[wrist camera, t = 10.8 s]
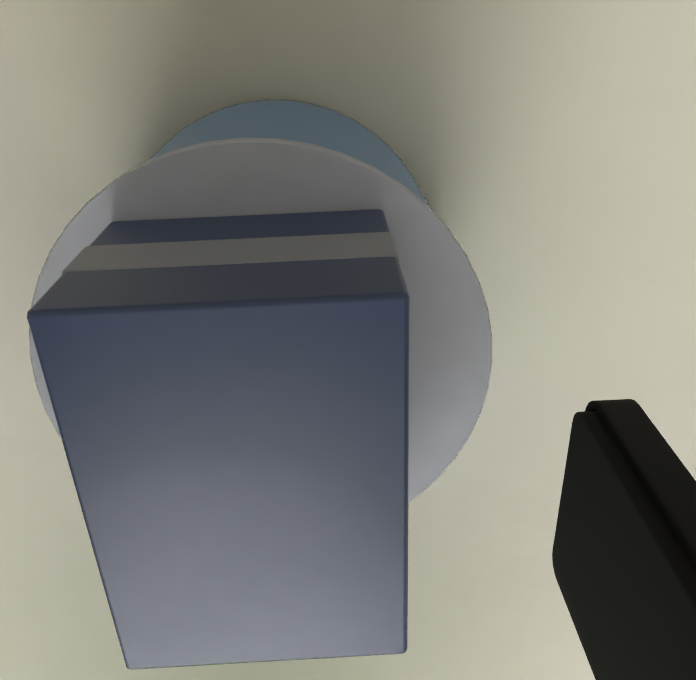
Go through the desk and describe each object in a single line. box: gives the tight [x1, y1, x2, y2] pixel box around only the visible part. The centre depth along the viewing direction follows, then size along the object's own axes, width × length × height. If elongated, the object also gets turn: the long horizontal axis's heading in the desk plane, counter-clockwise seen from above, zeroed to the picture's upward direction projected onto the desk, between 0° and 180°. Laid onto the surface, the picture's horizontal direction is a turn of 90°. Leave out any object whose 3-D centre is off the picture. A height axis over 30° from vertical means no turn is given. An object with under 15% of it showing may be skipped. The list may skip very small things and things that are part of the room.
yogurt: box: [29, 100, 492, 502], centre depth 17 cm, size 9×9×7 cm
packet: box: [27, 209, 410, 669], centre depth 12 cm, size 7×5×4 cm
